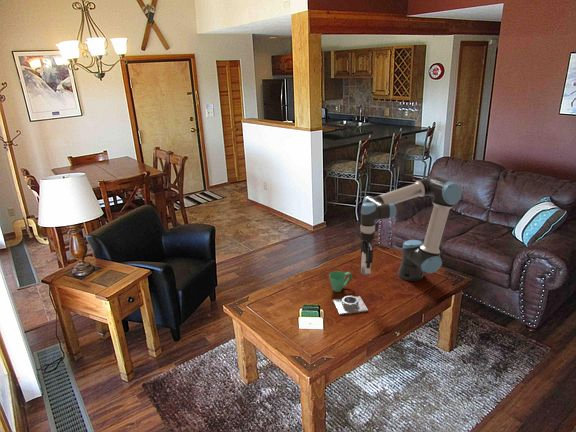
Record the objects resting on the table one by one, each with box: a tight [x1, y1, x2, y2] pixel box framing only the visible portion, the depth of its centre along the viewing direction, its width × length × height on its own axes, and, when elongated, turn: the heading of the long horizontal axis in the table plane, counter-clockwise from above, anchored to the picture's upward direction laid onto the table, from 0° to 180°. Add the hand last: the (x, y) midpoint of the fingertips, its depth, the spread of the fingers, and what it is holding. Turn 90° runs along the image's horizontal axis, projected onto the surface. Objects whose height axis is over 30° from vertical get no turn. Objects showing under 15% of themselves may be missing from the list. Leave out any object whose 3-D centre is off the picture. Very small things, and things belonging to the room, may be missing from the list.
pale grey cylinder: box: [360, 252, 372, 276], centre depth 220 cm, size 5×5×12 cm
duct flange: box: [332, 295, 369, 316], centre depth 223 cm, size 16×14×4 cm
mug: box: [328, 270, 352, 293], centre depth 239 cm, size 15×10×10 cm
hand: (365, 270), depth 222 cm, fingers closed on pale grey cylinder, 5 cm apart
